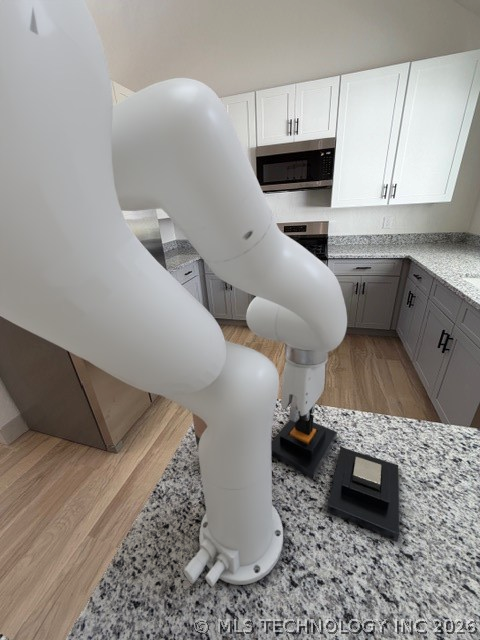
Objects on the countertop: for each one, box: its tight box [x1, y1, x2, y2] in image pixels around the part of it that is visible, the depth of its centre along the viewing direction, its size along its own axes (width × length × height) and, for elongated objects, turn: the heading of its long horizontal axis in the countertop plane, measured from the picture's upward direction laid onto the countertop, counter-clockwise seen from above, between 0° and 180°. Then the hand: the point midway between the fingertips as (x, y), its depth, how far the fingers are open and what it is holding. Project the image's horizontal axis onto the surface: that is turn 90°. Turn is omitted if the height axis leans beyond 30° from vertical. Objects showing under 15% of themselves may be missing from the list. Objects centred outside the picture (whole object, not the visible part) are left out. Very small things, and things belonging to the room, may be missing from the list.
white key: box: [352, 457, 381, 492], centre depth 46 cm, size 4×4×2 cm
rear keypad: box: [271, 419, 338, 480], centre depth 56 cm, size 12×10×4 cm
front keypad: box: [326, 446, 400, 543], centre depth 47 cm, size 13×10×4 cm
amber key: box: [290, 427, 316, 445], centre depth 56 cm, size 4×4×2 cm
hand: (303, 430), depth 56 cm, fingers closed
